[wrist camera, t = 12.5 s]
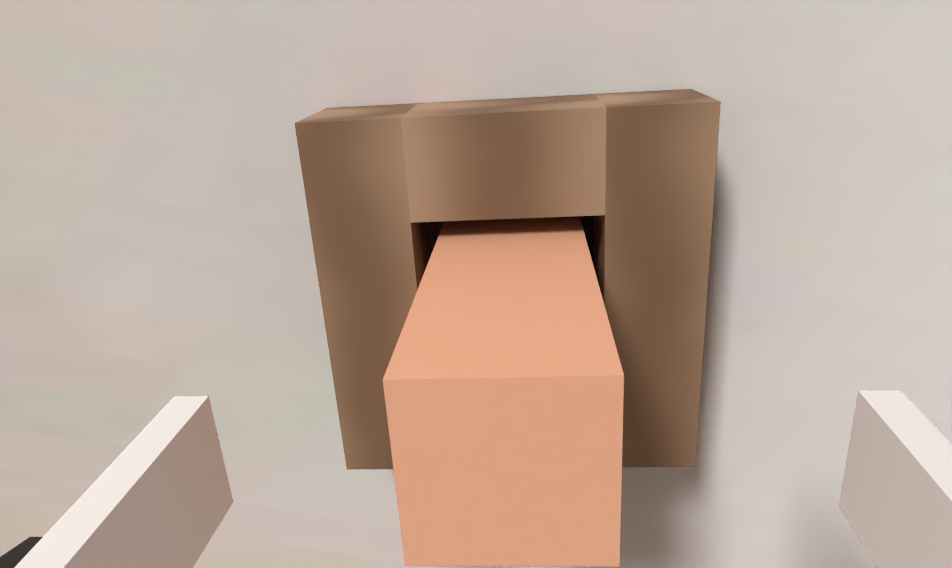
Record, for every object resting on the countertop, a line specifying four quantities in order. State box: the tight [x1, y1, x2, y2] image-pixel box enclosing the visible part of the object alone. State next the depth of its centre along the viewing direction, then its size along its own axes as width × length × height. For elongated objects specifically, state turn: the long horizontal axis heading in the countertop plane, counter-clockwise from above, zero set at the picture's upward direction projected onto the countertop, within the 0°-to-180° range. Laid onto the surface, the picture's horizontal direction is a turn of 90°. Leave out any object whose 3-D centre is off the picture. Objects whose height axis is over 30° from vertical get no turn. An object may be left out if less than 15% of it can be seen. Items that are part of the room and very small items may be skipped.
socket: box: [295, 89, 720, 469], centre depth 23 cm, size 12×12×4 cm
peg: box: [383, 216, 624, 567], centre depth 19 cm, size 4×4×12 cm
